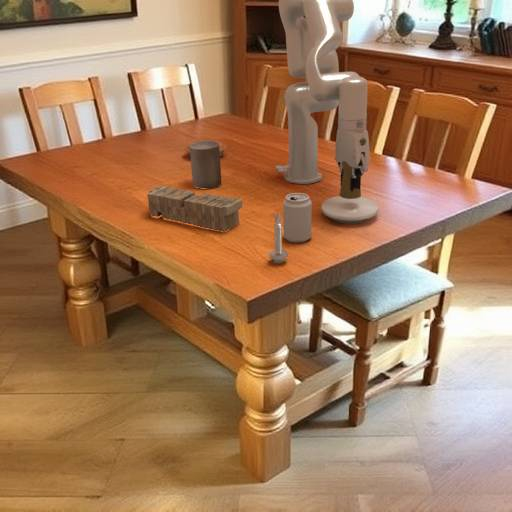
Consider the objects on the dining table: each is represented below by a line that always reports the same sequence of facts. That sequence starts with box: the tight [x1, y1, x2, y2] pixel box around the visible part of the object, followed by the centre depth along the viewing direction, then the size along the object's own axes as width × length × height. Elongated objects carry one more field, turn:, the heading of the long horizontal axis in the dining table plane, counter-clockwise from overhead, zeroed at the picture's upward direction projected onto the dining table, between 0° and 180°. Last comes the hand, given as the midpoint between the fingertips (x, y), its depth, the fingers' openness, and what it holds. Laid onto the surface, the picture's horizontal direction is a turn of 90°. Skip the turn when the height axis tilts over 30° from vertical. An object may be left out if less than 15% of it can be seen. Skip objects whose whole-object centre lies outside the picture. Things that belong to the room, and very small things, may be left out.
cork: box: [339, 161, 362, 199], centre depth 190 cm, size 6×6×11 cm
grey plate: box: [321, 195, 379, 225], centre depth 194 cm, size 16×16×4 cm
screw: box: [268, 212, 289, 265], centre depth 167 cm, size 13×5×5 cm
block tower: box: [147, 185, 243, 233], centre depth 195 cm, size 8×8×29 cm
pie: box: [184, 140, 227, 158], centre depth 253 cm, size 15×16×5 cm
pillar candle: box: [188, 140, 223, 189], centre depth 221 cm, size 10×10×15 cm
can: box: [282, 192, 313, 244], centre depth 180 cm, size 8×8×12 cm
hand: (350, 187), depth 191 cm, fingers closed on cork, 3 cm apart
